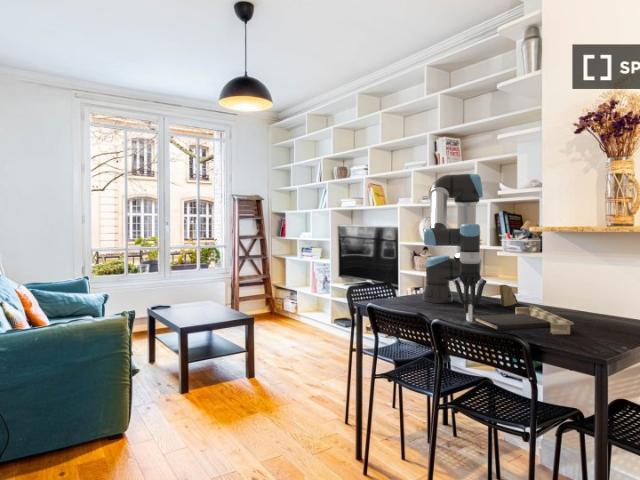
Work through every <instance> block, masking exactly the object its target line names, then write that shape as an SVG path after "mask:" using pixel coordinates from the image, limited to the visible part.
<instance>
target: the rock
mask: <svg viewBox="0 0 640 480" xmlns="http://www.w3.org/2000/svg"><path fill="white" fill-rule="evenodd" d="M499 294H500V301H499V302H500V305H501V306H503V307H510V306H513V305H515V304H518V303H519V302H518V299H517V296H516V294H515V293H514V291H513V288H512V287H511V286H509V285H507V284H500V286H499Z"/></svg>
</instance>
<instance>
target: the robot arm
mask: <svg viewBox="0 0 640 480" xmlns="http://www.w3.org/2000/svg"><path fill="white" fill-rule="evenodd" d="M481 178H482V177H481V175H479V174H478V173H461V174H460V173H459V174H446V175H443V176H440V177H439V178H437V179H436V180H435V181H433V183H432V185H431V186H430V188H429V189H428V200H429V202H430V203H429V204H430V205H429V222H428V223H429V225H428V227H427V228H424V230H423V243H424V245H425V246H429V247H430V246H431V247H456V252H455V253H454V254H453V258H451V257H450V255H449V254H448V255H437V256H436V255H435V256H431V257H427V259H426V261H425V262H426V263H425V269H426V270H425V288H424V291H423V293H422V301H423V302H425V303H431V304H432V303H433V304H449V303H453V300H454V299H453V298H454V297H453V296H454V295H453V294H452V290H451V288H450V282H453V283H454V286H455V289H456V294H457V296H458V297H457V298H458V301H459V303H461V304H462V305H463V311H464V313H465V315H466V317H465V318H466V321H467V322H469V323H472V322H473V314H475V313H476V311H475V310H476V305H479V304H480V303H481V299H482V295H483V290H484V286H485V285H486V284H487V280H486V279H484V278H482V276H481V274H480V273H481V269H482V259H481V255H480V254H481V246H480V245H481V225H480V224H478V223H476V222H477V221H476V217H477V214H476V213H477V205H478V204H479V203H480V199H482V198H483V195H484V194H483V185H482V184H483V183H482V179H481ZM449 199H454V200H453V201H454V203H455V204H456V206H457V222H456V224H457V227H456V228H449V227H448V224H447V222H448V219H447V218H448V200H449ZM447 227H448V228H447ZM461 283H462V285H463V290H462V287H461ZM477 284H478V286H477ZM477 287H478V288H477ZM476 288H477V290H476Z"/></svg>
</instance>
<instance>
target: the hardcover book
mask: <svg viewBox="0 0 640 480" xmlns="http://www.w3.org/2000/svg"><path fill="white" fill-rule="evenodd" d="M474 318H475V321H476V322H478V323H480V324H483V325H486V326H487V327H491V328H493V329H495V330H497V331H500V330H501V331H502V330H516V329H517V330H518V329H519V330H521V329H533V328H535V329H536V327H538V328H549V327H548V326H551V323H550V322H548V321H545V320H542V319H539V318H536V317H533V316H530V315H527V314H515V313H513V314H509V313H508V314H495V315H494V314H493V315H477V316H475V315H474Z"/></svg>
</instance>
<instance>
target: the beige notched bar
mask: <svg viewBox="0 0 640 480" xmlns="http://www.w3.org/2000/svg"><path fill="white" fill-rule="evenodd" d="M514 310H515V313H514V314H527V315H530V316H533V317H536V318H539V319H542V320H545V321H548V322H550V323H551V327H550V334H551V333H552V334H551V335H571V326H573V325H574V322H573V321H571V320H569V319H566V318H564V317H563V316H560V315H557V314H554V313H552V312H550V311H547V310H545V309H542V308H541V307H537V306H536V305H532V304H531V305H530V306H529V307H526V306H521V307H520V306H519V307H517V306H516V307H515V309H514Z"/></svg>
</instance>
